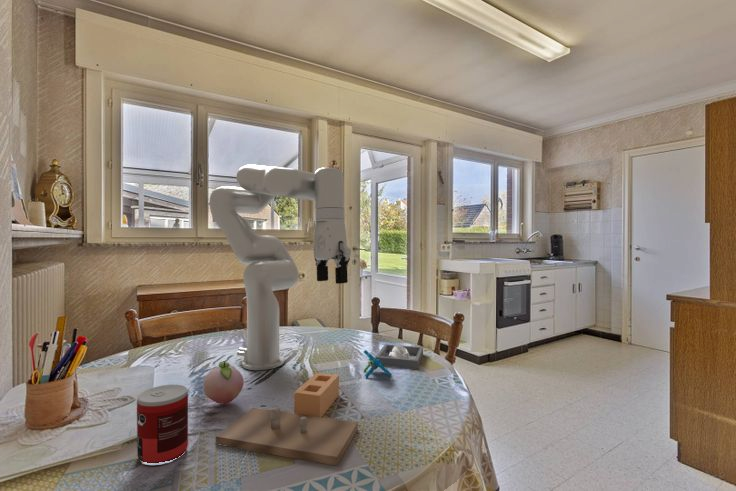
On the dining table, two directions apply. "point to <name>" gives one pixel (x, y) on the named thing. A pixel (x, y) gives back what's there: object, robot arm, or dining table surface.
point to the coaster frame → (400, 361)
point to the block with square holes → (316, 394)
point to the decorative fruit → (223, 383)
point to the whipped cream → (399, 352)
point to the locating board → (290, 435)
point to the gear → (374, 365)
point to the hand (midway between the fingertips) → (331, 282)
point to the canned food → (162, 423)
